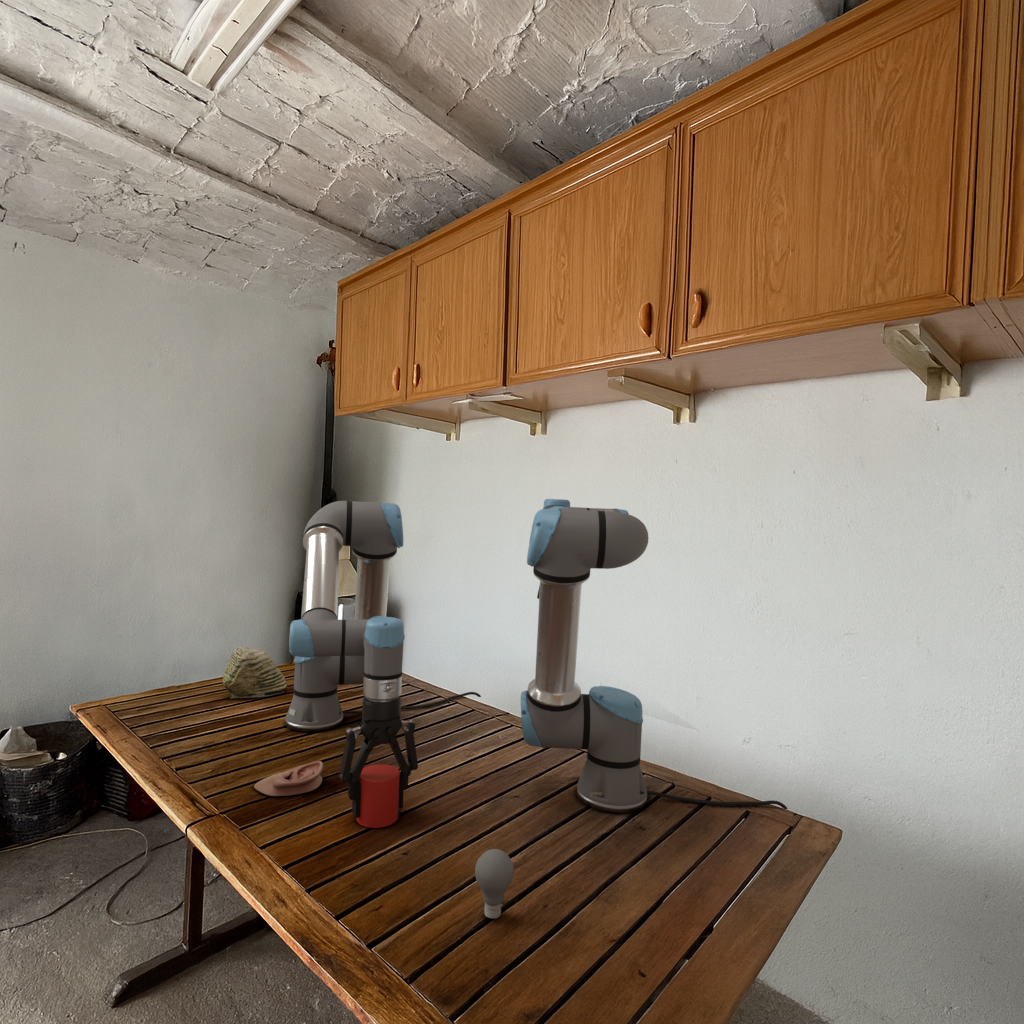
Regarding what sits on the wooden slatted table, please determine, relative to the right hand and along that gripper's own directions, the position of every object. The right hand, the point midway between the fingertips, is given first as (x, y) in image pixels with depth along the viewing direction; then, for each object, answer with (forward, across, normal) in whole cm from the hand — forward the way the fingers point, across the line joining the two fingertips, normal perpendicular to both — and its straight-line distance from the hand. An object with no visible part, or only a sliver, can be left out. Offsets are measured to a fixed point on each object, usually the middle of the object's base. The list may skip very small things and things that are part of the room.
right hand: (551, 630), depth 177 cm
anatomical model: (+29, +22, -67) cm, 76 cm away
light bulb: (+29, +74, -34) cm, 86 cm away
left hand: (+27, +40, -49) cm, 68 cm away
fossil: (+29, -44, -82) cm, 97 cm away
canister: (+29, +40, -49) cm, 69 cm away
